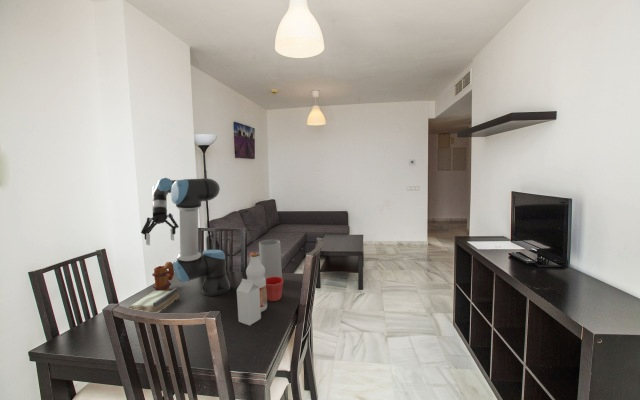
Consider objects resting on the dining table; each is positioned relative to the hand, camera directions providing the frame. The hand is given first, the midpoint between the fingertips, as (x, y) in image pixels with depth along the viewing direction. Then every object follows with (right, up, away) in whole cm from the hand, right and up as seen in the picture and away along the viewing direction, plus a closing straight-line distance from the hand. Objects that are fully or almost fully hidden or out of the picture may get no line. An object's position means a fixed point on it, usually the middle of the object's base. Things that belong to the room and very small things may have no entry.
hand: (160, 242), depth 168 cm
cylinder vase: (+63, -26, +7) cm, 68 cm away
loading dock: (+8, -30, -19) cm, 36 cm away
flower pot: (+68, -28, -13) cm, 74 cm away
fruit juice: (+61, -29, -25) cm, 72 cm away
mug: (+2, -28, +2) cm, 28 cm away
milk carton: (+60, -30, -36) cm, 76 cm away
